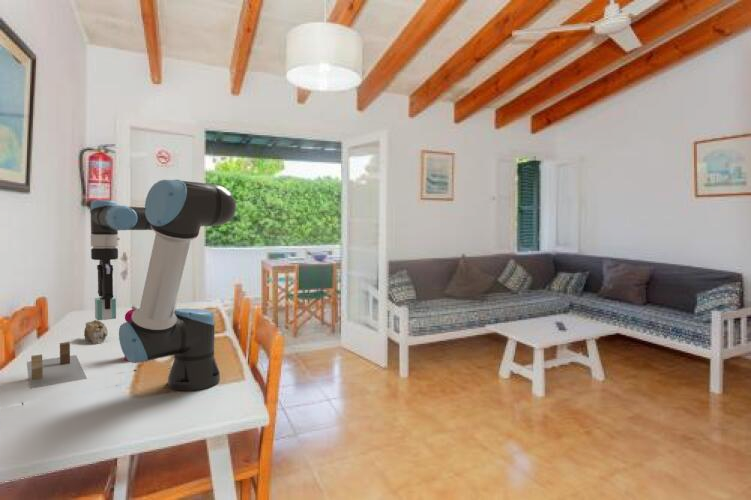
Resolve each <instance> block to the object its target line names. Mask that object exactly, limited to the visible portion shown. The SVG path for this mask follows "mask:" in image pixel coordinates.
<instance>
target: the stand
mask: <svg viewBox="0 0 751 500" xmlns="http://www.w3.org/2000/svg"><path fill="white" fill-rule="evenodd" d="M26 364H27V365H26V366H27V374H28V375H27V376H28V383H29V384H28V385H29V389H36V388H41V387H46V386H53V385H59V384H63V383H64V384H65V383H68V382H76V381H82V380H86V379H88V377H87V376H86V373H85V371H84V368H83V367H82V365H81V362H80V361H79V358H78V356H77V354H73V355H70V364H65V365H61V364H60V356H59V357H54V358H53V357H52V358H45V359H42V369H43V379H37V380H32V368H31V360H30V361H27V362H26Z"/></svg>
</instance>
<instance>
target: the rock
mask: <svg viewBox="0 0 751 500" xmlns="http://www.w3.org/2000/svg"><path fill="white" fill-rule="evenodd" d="M83 333H84V334H83V337H84V339H85V340H86V341H89V342H91V343H92V344H93V345H98V344H101V343H103V342H104V341H105V340H106V338H107V336H108V335H109V334H108V328H107V326H106V325H105V323H103V322H102V321H101V320H97V319H94V320H92V321H87V322H86V323H85V328H84V331H83Z"/></svg>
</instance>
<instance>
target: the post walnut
mask: <svg viewBox="0 0 751 500" xmlns="http://www.w3.org/2000/svg"><path fill="white" fill-rule="evenodd" d="M70 356H71V344H70V341H67V342H66V341H65V342H60V343H59V357H60V364H61V365H65V364H70Z"/></svg>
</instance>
